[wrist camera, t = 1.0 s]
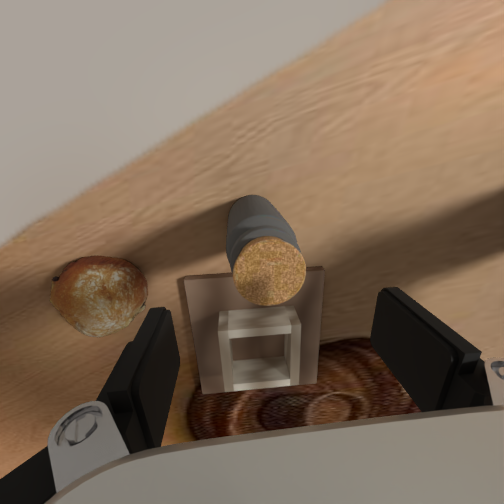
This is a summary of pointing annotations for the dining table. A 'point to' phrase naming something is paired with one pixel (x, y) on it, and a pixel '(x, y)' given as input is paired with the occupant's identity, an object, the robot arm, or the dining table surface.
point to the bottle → (263, 252)
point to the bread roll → (99, 294)
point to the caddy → (254, 334)
